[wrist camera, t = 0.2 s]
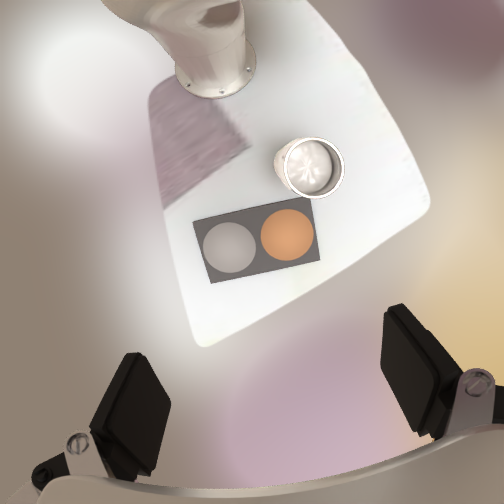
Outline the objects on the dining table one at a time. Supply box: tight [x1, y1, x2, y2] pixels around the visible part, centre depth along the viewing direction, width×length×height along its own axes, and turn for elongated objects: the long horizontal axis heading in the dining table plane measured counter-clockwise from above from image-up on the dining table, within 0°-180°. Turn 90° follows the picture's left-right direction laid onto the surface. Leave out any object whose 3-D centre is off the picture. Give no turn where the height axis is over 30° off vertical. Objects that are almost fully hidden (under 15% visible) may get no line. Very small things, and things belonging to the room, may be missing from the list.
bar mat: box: [193, 197, 320, 284], centre depth 45 cm, size 11×19×1 cm, turn 103°
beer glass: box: [274, 137, 345, 199], centre depth 34 cm, size 7×7×15 cm
